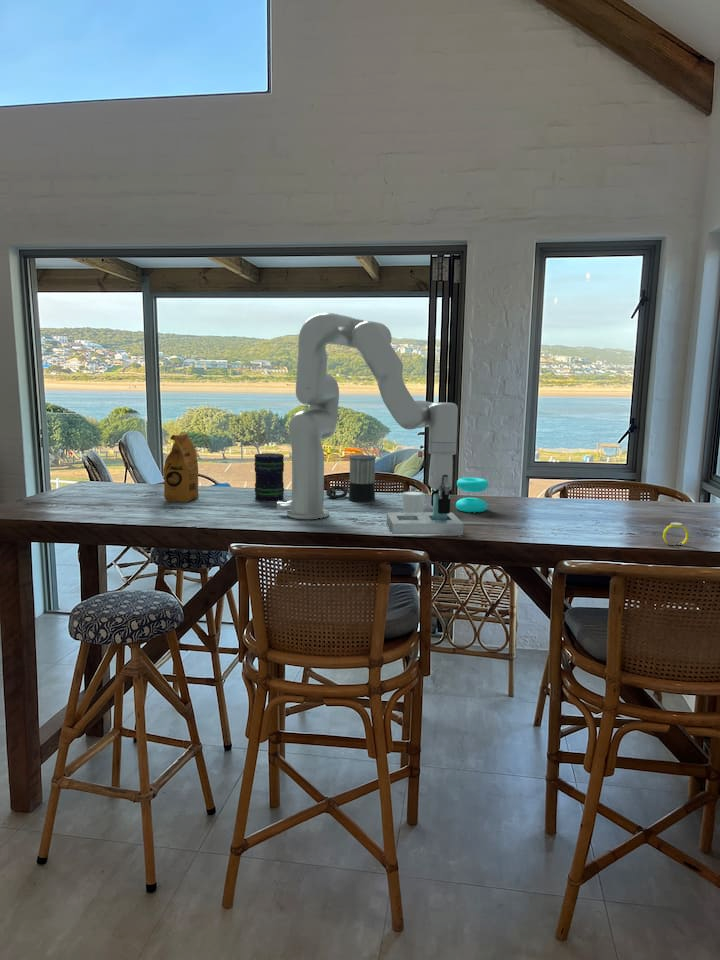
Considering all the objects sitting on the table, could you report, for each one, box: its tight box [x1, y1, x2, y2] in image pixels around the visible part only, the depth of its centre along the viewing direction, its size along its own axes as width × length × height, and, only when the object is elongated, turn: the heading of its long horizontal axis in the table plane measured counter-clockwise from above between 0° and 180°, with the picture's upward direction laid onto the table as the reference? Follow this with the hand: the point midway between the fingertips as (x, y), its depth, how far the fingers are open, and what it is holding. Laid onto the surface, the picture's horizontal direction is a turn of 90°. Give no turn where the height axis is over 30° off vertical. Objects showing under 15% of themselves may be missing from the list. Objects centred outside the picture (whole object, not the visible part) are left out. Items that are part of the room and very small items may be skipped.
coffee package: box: [163, 431, 200, 503], centre depth 222 cm, size 10×12×22 cm
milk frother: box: [325, 454, 377, 503], centre depth 228 cm, size 14×16×15 cm
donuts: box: [455, 476, 489, 514], centre depth 214 cm, size 10×10×10 cm
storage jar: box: [254, 452, 285, 503], centre depth 226 cm, size 10×10×15 cm
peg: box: [432, 494, 447, 520], centre depth 186 cm, size 4×4×10 cm
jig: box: [386, 511, 464, 536], centre depth 186 cm, size 19×14×4 cm
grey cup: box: [402, 490, 426, 512], centre depth 204 cm, size 7×7×7 cm
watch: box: [662, 522, 690, 545], centre depth 174 cm, size 6×3×6 cm, turn 82°
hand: (440, 509), depth 186 cm, fingers open, 9 cm apart
